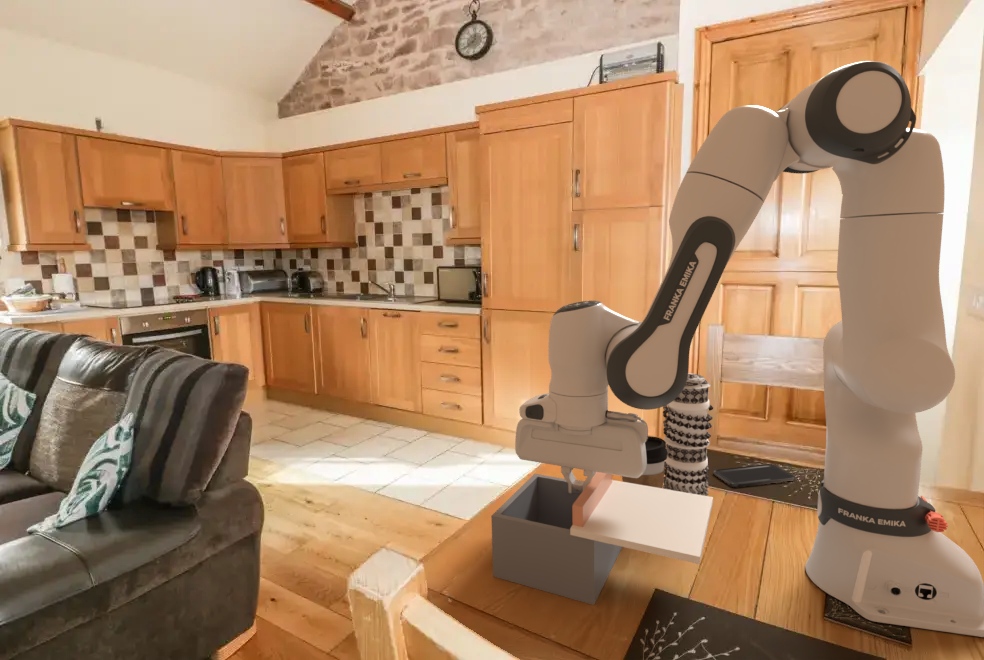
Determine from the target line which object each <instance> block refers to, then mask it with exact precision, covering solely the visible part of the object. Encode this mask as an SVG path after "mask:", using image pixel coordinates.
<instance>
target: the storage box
mask: <svg viewBox="0 0 984 660" xmlns="http://www.w3.org/2000/svg"><path fill="white" fill-rule="evenodd" d="M579 496H580V495H577V494H571V493H569V491H568V483H567V481H566V479H565V478H560V477H556V476H549V475H544V474H538V473H534V474H532V475H531V477H530V478H529V479H528V480H527V481H525V482H524V483H523V484H522V485H521V486H520V487H519V488H518V489H517V490H516V491H515V492H514V493H513V494H512V495H511V496H510V497H509V498H508V499H507V500H506V501H504V502H503V504H502V505H501V506H500V507H499V508H498V509H497V510H496V511H495V512H493V514H492V515H491V544H492V547H491V550H492V575H493V576H492V577H493V578H498V579H500V580H505V581H507V582H508V581H509V582H511V583H514V584H519V585H523V586H524V587H525V586H526V587H528V588H532V589H537V590H540V591H543V592H546V593H550V594H554V595H558V596H560V597H565V598H568V599H571V600H575V601H579V602H581V603H584V604H585V603H586V604H589V605H593V606H595V604H596V602H597V600H598V598H599V596H600V594H601V592H602V590H603V588H604V586H605V584H606V581H607V579H608V577H609V575H610V573H611V571H612V569H613V567H614V565H615V563H616V561H617V558H618V557H619V555H620V553H621V550H622V548H623V547H621V546H617V545H613V544H608V543H604V542H599V541H595V540H591V539H586V538H582V537H577V536H573V535H570V528H571V526H572V525H573V511H572V505H573V504H574V502H575V501H576V500H577V498H578V497H579Z"/></svg>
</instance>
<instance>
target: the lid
mask: <svg viewBox="0 0 984 660" xmlns="http://www.w3.org/2000/svg"><path fill="white" fill-rule="evenodd" d="M713 505H714V497H713V496H709V495H708V496H703V495H698V494H692V493H686V492H680V491H674V490H668V489H662V488H657V487H651V486H645V485H639V484H633V483H627V482H623V480H622V481H620V480H614V479H613V474H607V473H600V472H596V474H595V475H594V477H593V478H592V480H591V481H590V483H589V484H588V485H587V486H586V488H585V489H584V490H583V492H582V493H581V494H580V496H579V497H578V498H577V500H576V501H575V502H574V504H573V505H572V511H573V525H572V526H571V528H570V535H573V536H577V537H582V538H586V539H591V540H595V541H599V542H604V543H608V544H613V545H617V546H621V547H622V548H626V549H630V550H635V551H640V552H644V553H647V554H648V553H649V554H653V555H657V556H662V557H664V558H665V557H666V558H670V559H675V560H680V561H683V562H688V563H692V564H696V565H700V564H701V560H702V555H703V550H704V547H705V541H706V536H707V531H708V529H709V528H708V527H709V524H710V523H709V522H710V518H711V513H712V510H713V509H712V508H713Z"/></svg>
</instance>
